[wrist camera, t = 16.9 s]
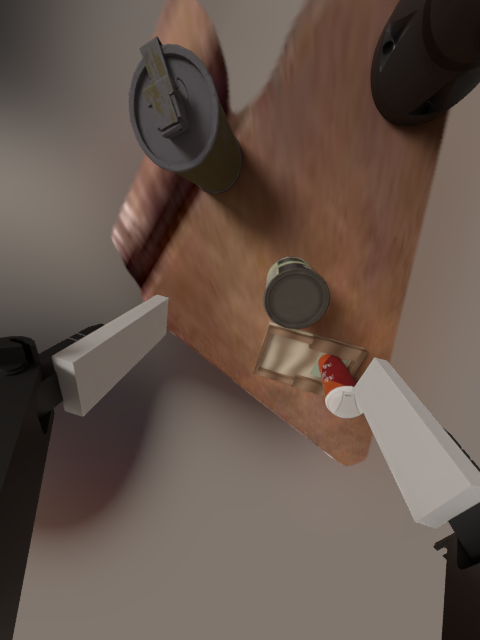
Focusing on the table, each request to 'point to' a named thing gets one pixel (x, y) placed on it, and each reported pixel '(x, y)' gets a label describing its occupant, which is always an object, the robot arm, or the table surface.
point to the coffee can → (295, 294)
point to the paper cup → (338, 387)
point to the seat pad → (315, 368)
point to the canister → (182, 117)
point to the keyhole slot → (301, 357)
